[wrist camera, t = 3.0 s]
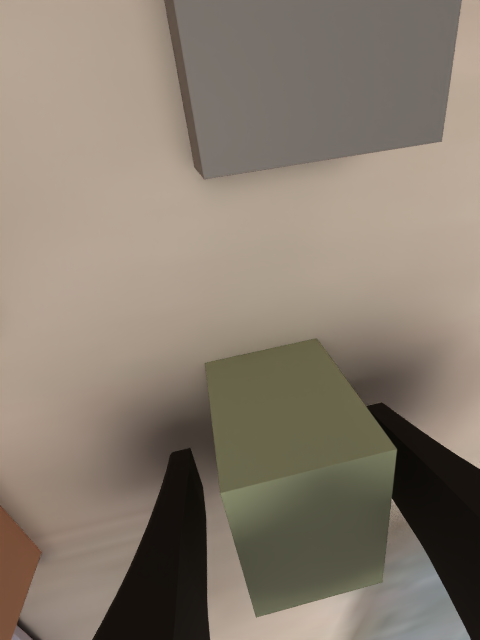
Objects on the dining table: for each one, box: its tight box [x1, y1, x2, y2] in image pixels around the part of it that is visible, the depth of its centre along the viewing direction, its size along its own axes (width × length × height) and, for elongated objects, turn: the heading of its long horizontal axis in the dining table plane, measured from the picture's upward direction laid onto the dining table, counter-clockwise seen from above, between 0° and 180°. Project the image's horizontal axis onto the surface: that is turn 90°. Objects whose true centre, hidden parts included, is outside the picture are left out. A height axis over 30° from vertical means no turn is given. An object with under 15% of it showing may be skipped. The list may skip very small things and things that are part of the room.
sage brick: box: [205, 338, 397, 617], centre depth 11 cm, size 6×4×5 cm, turn 9°
